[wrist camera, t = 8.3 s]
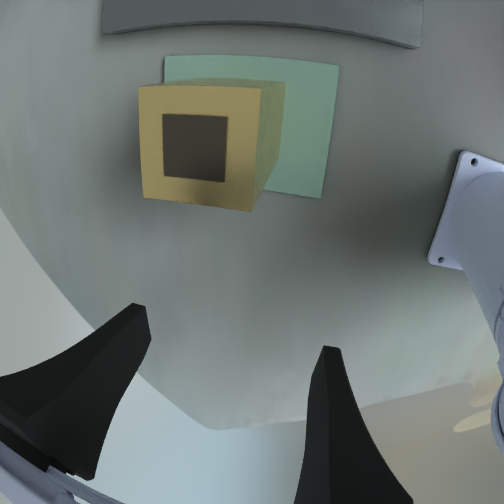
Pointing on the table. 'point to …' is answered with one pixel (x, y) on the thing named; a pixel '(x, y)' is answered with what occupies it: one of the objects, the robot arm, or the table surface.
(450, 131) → the table surface
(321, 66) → the mat
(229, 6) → the grey slotted base board
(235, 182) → the tan box
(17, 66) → the table surface
